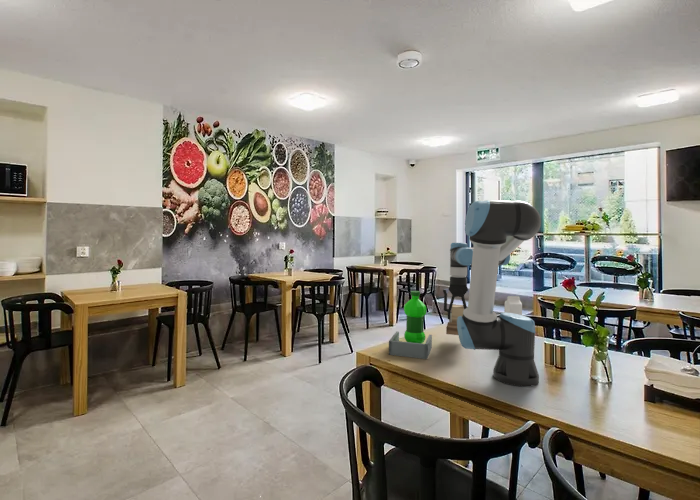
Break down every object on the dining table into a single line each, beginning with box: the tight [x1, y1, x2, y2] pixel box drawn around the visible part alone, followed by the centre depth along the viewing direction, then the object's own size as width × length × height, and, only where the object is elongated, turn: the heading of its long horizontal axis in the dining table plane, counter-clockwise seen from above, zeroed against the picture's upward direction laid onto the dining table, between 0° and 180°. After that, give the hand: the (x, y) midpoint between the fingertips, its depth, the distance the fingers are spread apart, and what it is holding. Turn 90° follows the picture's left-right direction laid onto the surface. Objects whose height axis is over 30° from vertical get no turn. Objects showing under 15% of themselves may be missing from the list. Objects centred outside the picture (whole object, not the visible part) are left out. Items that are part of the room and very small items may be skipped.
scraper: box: [445, 304, 464, 336], centre depth 171 cm, size 28×8×10 cm, turn 161°
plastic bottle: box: [403, 290, 428, 344], centre depth 174 cm, size 10×10×25 cm
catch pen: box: [388, 331, 433, 360], centre depth 165 cm, size 16×16×6 cm
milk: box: [503, 295, 523, 315], centre depth 180 cm, size 6×6×22 cm
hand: (457, 326), depth 171 cm, fingers closed on scraper, 5 cm apart
